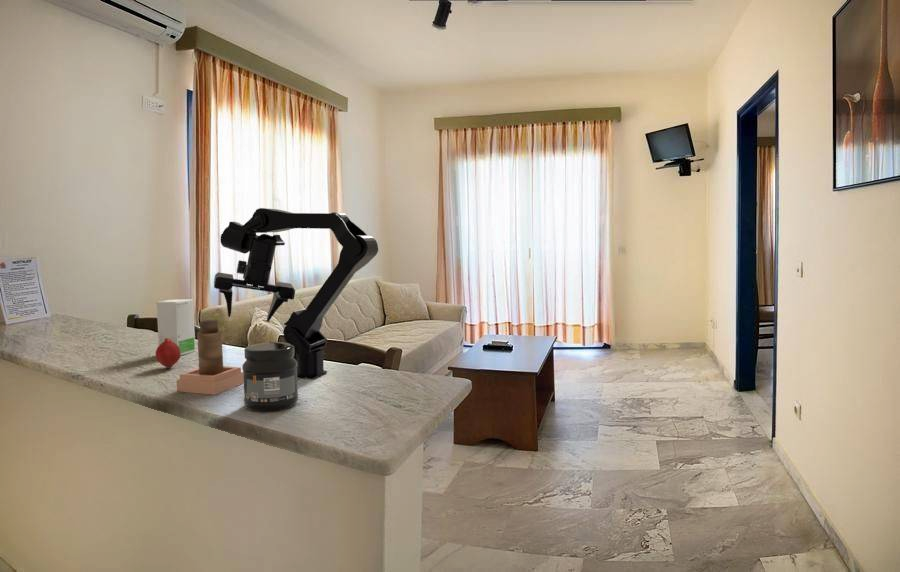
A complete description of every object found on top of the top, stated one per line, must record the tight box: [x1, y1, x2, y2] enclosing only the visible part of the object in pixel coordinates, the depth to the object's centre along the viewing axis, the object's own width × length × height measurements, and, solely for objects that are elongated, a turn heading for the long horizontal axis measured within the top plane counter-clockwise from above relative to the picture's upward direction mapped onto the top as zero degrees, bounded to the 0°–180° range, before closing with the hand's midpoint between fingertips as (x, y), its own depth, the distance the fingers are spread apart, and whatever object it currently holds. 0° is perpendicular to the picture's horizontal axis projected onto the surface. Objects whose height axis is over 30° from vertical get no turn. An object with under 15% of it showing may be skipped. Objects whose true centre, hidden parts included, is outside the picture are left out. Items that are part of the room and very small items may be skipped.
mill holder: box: [175, 365, 244, 396], centre depth 126 cm, size 10×10×4 cm
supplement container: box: [241, 341, 299, 413], centre depth 112 cm, size 10×10×12 cm
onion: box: [155, 338, 182, 369], centre depth 144 cm, size 6×6×8 cm
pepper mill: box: [196, 319, 224, 376], centre depth 125 cm, size 5×5×12 cm
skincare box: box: [156, 298, 197, 357], centre depth 161 cm, size 8×7×16 cm
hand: (248, 318), depth 139 cm, fingers open, 9 cm apart
